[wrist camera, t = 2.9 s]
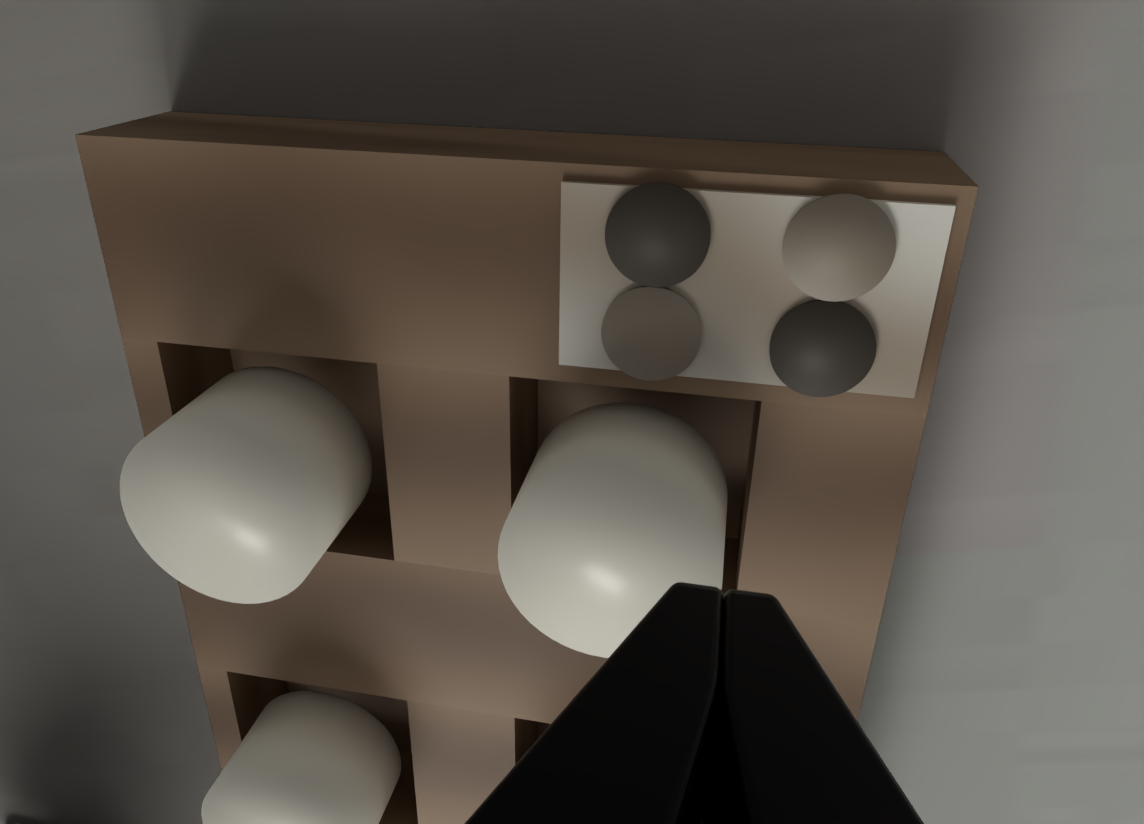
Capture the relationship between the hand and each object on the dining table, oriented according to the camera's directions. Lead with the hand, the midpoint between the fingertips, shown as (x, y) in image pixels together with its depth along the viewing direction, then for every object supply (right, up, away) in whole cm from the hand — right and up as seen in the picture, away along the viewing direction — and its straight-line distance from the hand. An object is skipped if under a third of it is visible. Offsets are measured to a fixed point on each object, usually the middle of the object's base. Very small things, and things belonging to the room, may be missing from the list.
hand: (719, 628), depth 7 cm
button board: (-2, -2, +15) cm, 16 cm away
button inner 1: (-8, -7, +16) cm, 19 cm away
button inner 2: (-8, +1, +12) cm, 14 cm away
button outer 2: (0, 0, +10) cm, 10 cm away
